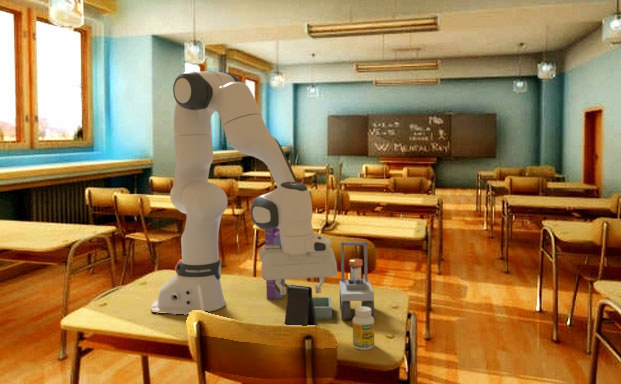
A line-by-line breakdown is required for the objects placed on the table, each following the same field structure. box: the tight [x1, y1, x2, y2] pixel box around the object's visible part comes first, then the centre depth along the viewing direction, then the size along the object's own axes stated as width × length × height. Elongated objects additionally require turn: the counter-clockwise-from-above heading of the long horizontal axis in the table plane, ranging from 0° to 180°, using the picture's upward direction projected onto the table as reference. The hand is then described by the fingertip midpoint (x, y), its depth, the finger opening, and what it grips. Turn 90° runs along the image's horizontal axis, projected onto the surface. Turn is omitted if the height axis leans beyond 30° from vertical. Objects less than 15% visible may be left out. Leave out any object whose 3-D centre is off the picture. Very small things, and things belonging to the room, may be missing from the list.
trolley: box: [339, 241, 375, 320], centre depth 156 cm, size 9×14×20 cm, turn 0°
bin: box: [312, 296, 333, 321], centre depth 158 cm, size 10×10×4 cm
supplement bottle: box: [352, 306, 375, 351], centre depth 134 cm, size 5×5×10 cm
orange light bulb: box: [348, 258, 363, 284], centre depth 156 cm, size 4×4×8 cm
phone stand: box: [283, 284, 318, 326], centre depth 146 cm, size 9×6×12 cm, turn 156°
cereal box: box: [264, 228, 286, 300], centre depth 180 cm, size 17×5×24 cm, turn 179°
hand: (300, 293), depth 145 cm, fingers open, 8 cm apart
